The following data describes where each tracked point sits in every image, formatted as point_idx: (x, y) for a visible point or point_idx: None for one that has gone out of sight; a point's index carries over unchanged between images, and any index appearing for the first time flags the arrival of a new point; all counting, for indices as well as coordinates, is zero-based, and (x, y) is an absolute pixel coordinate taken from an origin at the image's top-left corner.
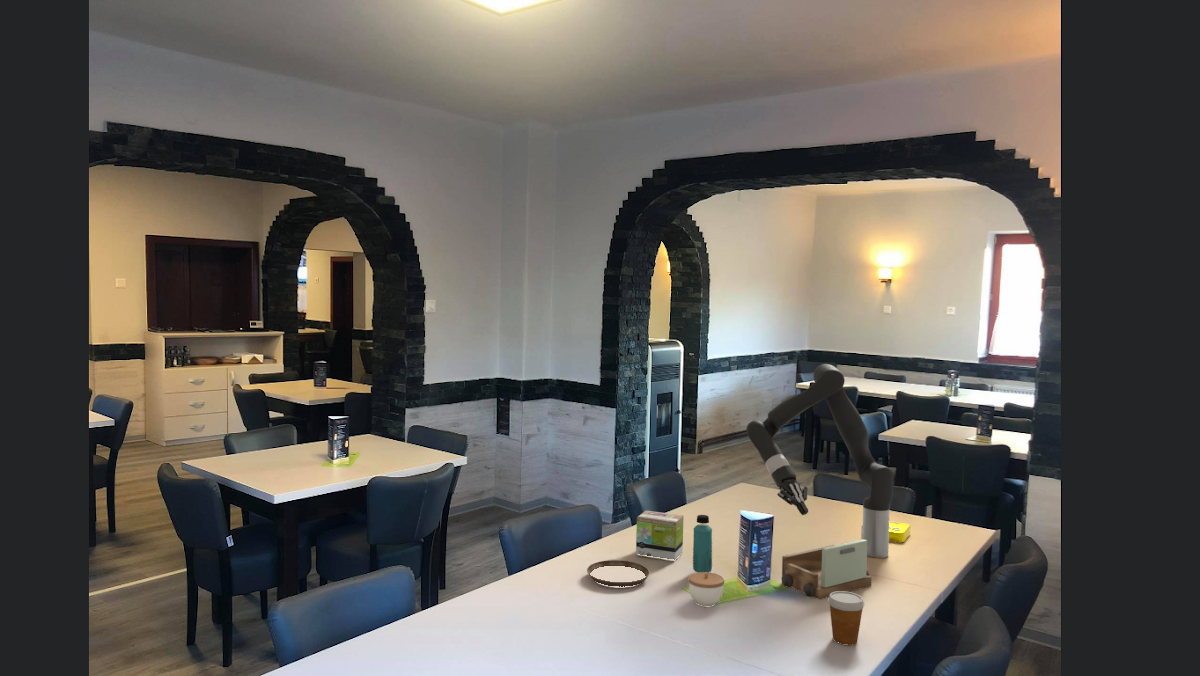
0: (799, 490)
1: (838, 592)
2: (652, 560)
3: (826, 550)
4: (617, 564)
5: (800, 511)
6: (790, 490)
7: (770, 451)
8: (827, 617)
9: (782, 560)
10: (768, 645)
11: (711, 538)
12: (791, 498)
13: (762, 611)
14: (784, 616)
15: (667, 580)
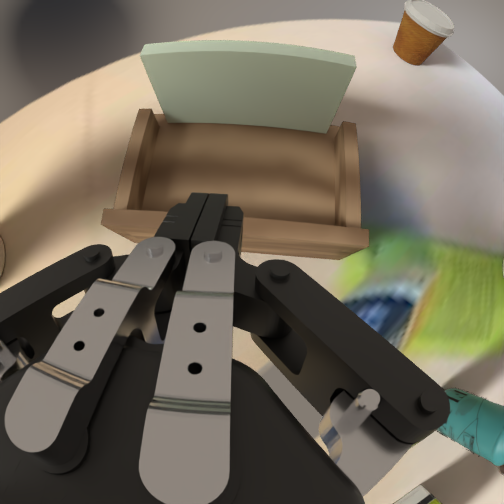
0: (77, 328)
1: (433, 22)
2: (437, 498)
3: (351, 57)
4: (501, 469)
5: (242, 233)
6: (239, 407)
7: None
8: (383, 92)
9: (362, 248)
10: (494, 116)
11: (494, 416)
12: (319, 291)
13: (464, 179)
14: (444, 142)
15: (495, 397)
